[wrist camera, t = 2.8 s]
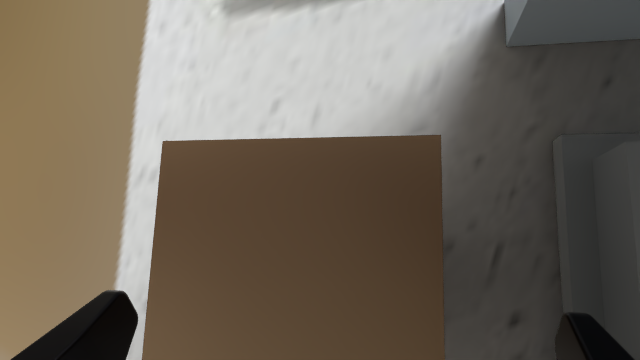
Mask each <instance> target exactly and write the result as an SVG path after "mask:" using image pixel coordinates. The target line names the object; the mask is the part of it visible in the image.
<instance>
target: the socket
mask: <svg viewBox="0 0 640 360" xmlns="http://www.w3.org/2000/svg"><path fill="white" fill-rule="evenodd" d="M552 144H553V160H554V177H555V193H556V209H557V226H558V242H559V258H560V275H561V291H562V307H563V314H564V313H566V312H579V313H587V314H589V315H591V316H592V317H593V318H595V319H596V321H597V322H598V323H599V324H600V325H601V326H602V327H603V328H604V329H605V330H606V331H607V332H608V333H609V334H610V335H611V336H612V337H613V338H614V339H615V340H616V341H617V342H618V343H619V344H620V345H621V346H622V347H623V348H624V349H625V350H626V351H627V352H628V353H629V354H630V355H631V356H632V357H633V358H634V359H635V360H640V133H609V134H562V135H560V136H559V137H557V138H556V139H555V140H554V141H553V142H552Z"/></svg>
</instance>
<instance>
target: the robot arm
mask: <svg viewBox="0 0 640 360" xmlns="http://www.w3.org/2000/svg"><path fill="white" fill-rule="evenodd" d="M137 324H138V314H137V312H136V310H135V308H134V306H133V304H132V303H131V301H130V299H129V297H128V295H127V294H126V293H125V292H124V291H116V290H108V291H105V292H103V293H101V294H100V295H99V296H97V297H96V298H94V299H93V300H92V301H90V302H89V303H88V304H86V305H85V306H83V307H82V308H81V309H79V310H78V311H76V312H75V313H74V314H72V315H71V316H70V317H68V318H67V319H66V320H64V321H63V322H62V323H60V324H59V325H58V326H56V327H55V328H53V329H52V330H50V331H49V332H48V333H46V334H45V335H44V336H42V337H41V338H40V339H38V340H37V341H35V342H34V343H33V344H31V345H30V346H29V347H27V348H26V349H25V350H23V351H22V352H20V353H19V354H18V355H16V356H15V357H14V358H12V359H11V360H126V357H127V354H128V351H129V348H130V345H131V342H132V339H133V336H134V333H135V330H136V327H137ZM555 352H556V357H557V360H635V359H634V358H633V357H632V356H631V355H630V354H629V353H628V352H627V351H626V350H625V349H624V348H623V347H622V346H621V345H620V344H619V343H618V342H617V341H616V340H615V339H614V338H613V337H612V336H611V335H610V334H609V333H608V332H607V331H606V330H605V329H604V328H603V327H602V326H601V325H600V324H599V323H598V322H597V321H596V319H595V318H593V317H592V316H591V315H589V314H587V313H579V312H566V313H564V314H563V316H562V318H561V321H560V325H559V328H558V331H557V334H556V338H555Z"/></svg>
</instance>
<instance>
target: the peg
mask: <svg viewBox="0 0 640 360" xmlns="http://www.w3.org/2000/svg"><path fill="white" fill-rule="evenodd" d="M142 360H445V347H444V286H443V226H442V165H441V135H417V136H372V137H327V138H281V139H236V140H190V141H163V144H162V154H161V165H160V175H159V186H158V196H157V207H156V217H155V228H154V238H153V249H152V259H151V270H150V280H149V291H148V301H147V312H146V322H145V333H144V343H143V354H142Z"/></svg>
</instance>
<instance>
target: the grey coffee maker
mask: <svg viewBox="0 0 640 360" xmlns="http://www.w3.org/2000/svg"><path fill="white" fill-rule="evenodd" d="M504 5H505V28H506V47H508V46H525V45H542V44H559V43H577V42H594V41H611V40H628V39H640V0H505V1H504Z"/></svg>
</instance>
